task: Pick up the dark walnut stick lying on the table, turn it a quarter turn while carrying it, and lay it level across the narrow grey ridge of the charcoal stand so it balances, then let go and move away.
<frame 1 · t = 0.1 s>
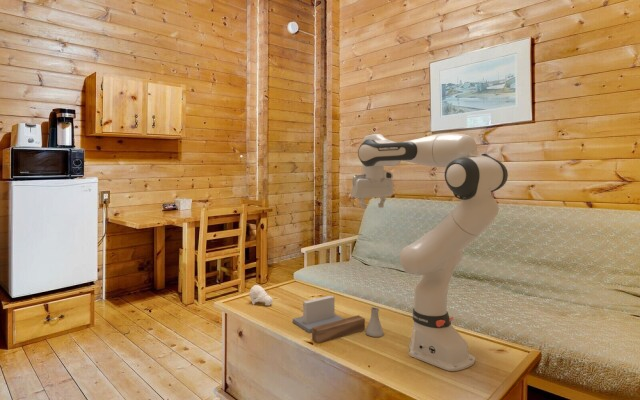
hand: (372, 208, 158), 48 cm above the table, tool pointing down, fingers open, 8 cm apart
white animal figurine: (262, 304, 183), on the table
flask: (374, 334, 150), on the table
walnut stick: (339, 335, 149), on the table
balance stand: (319, 322, 160), on the table
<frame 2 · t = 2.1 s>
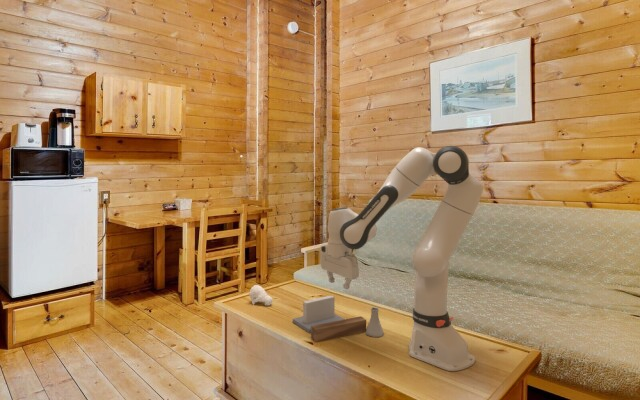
hand: (338, 285, 147), 19 cm above the table, tool pointing down, fingers open, 8 cm apart
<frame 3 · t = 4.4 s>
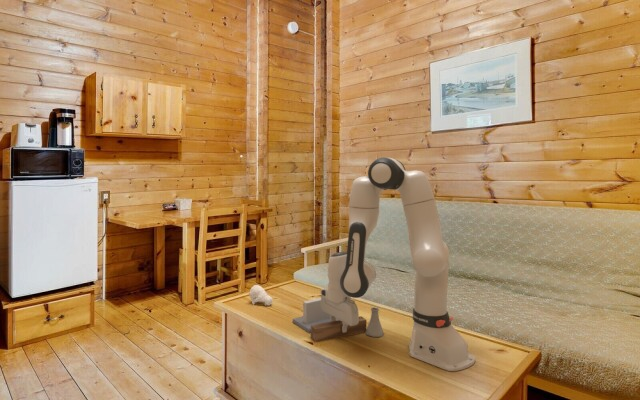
hand: (339, 329, 149), 2 cm above the table, tool pointing down, fingers open, 4 cm apart
nothing on the table moved.
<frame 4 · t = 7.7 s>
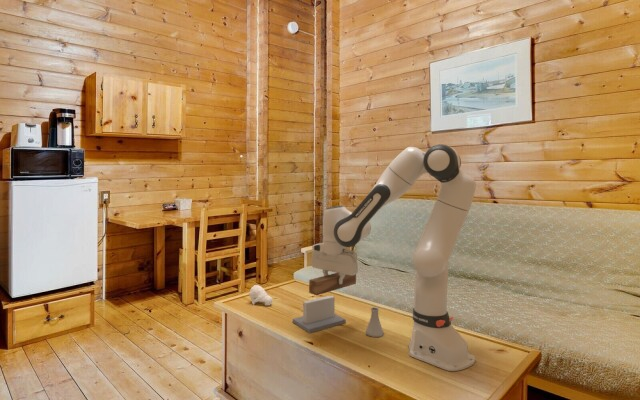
hand: (333, 282, 150), 20 cm above the table, tool pointing down, fingers closed on walnut stick, 4 cm apart
walnut stick: (333, 288, 150), point 17 cm above the table, touching gripper
everything else where it was.
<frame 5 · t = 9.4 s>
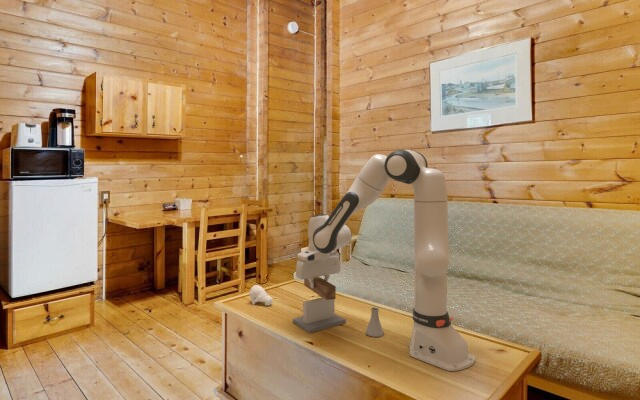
hand: (318, 286, 159), 15 cm above the table, tool pointing down, fingers closed on walnut stick, 4 cm apart
walnut stick: (318, 291, 159), point 13 cm above the table, touching gripper
everything else where it was.
when the fingers open (13 cm above the table, at t = 10.7 s): walnut stick stays where it is, resting on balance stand.
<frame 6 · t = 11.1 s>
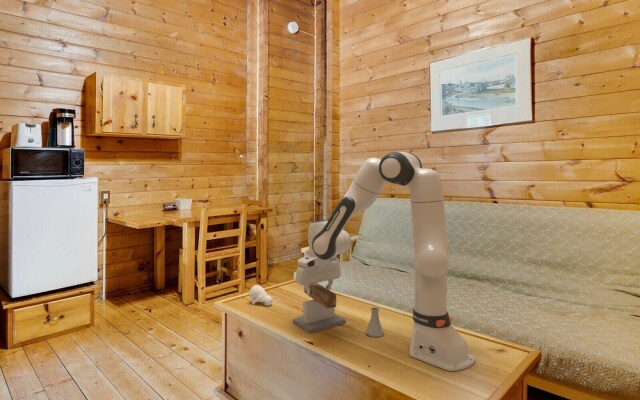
hand: (319, 292, 159), 13 cm above the table, tool pointing down, fingers open, 8 cm apart
walnut stick: (319, 299, 159), point 10 cm above the table, touching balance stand
everything else where it was.
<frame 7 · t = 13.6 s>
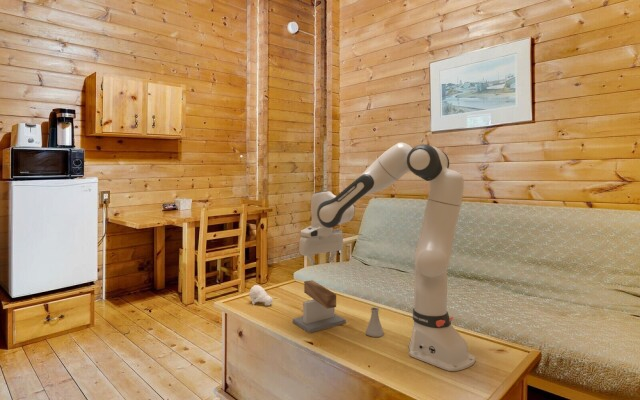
hand: (322, 263, 159), 25 cm above the table, tool pointing down, fingers open, 8 cm apart
nothing on the table moved.
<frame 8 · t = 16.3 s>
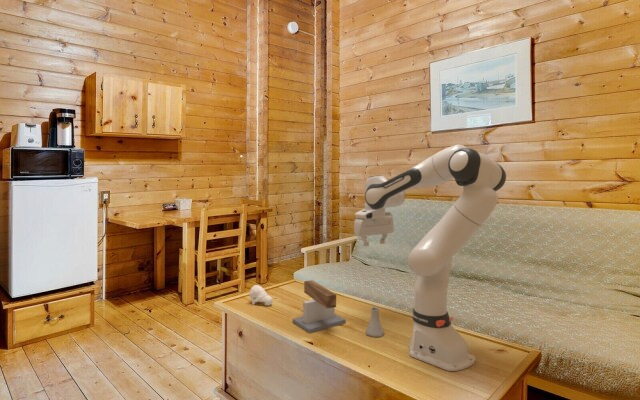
hand: (374, 244, 167), 31 cm above the table, tool pointing down, fingers open, 8 cm apart
nothing on the table moved.
at the end: walnut stick 0.2 cm off-centre on the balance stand, point 10.0 cm above the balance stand's base; walnut stick tilted 0°; walnut stick touching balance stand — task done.
